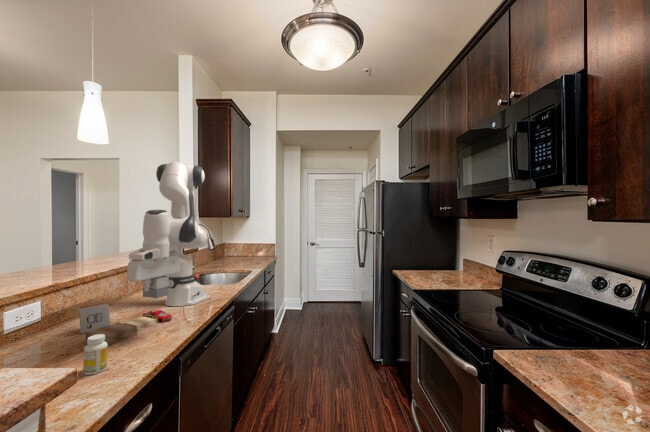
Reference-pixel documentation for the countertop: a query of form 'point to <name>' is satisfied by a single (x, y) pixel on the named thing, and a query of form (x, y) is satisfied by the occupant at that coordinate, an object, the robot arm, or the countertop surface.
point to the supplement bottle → (95, 355)
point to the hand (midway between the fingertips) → (155, 288)
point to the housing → (157, 287)
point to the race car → (158, 315)
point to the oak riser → (142, 322)
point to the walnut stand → (114, 332)
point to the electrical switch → (94, 317)
